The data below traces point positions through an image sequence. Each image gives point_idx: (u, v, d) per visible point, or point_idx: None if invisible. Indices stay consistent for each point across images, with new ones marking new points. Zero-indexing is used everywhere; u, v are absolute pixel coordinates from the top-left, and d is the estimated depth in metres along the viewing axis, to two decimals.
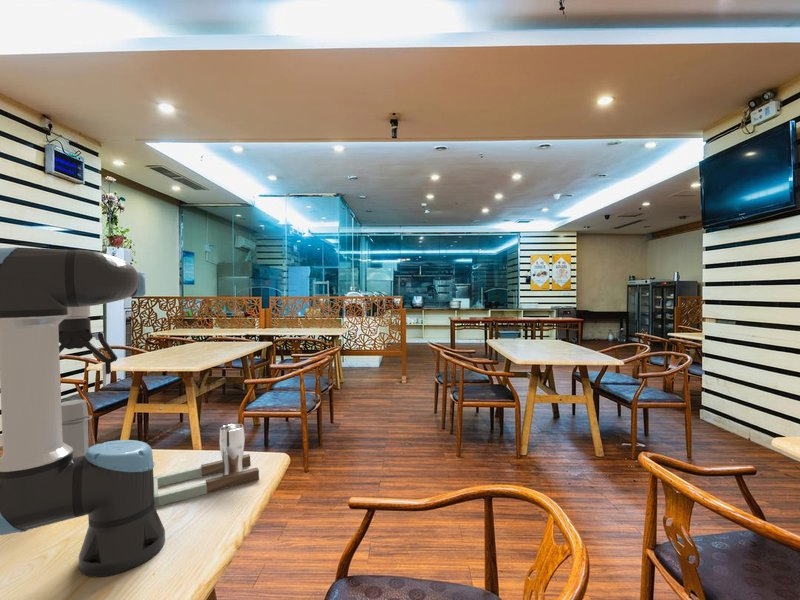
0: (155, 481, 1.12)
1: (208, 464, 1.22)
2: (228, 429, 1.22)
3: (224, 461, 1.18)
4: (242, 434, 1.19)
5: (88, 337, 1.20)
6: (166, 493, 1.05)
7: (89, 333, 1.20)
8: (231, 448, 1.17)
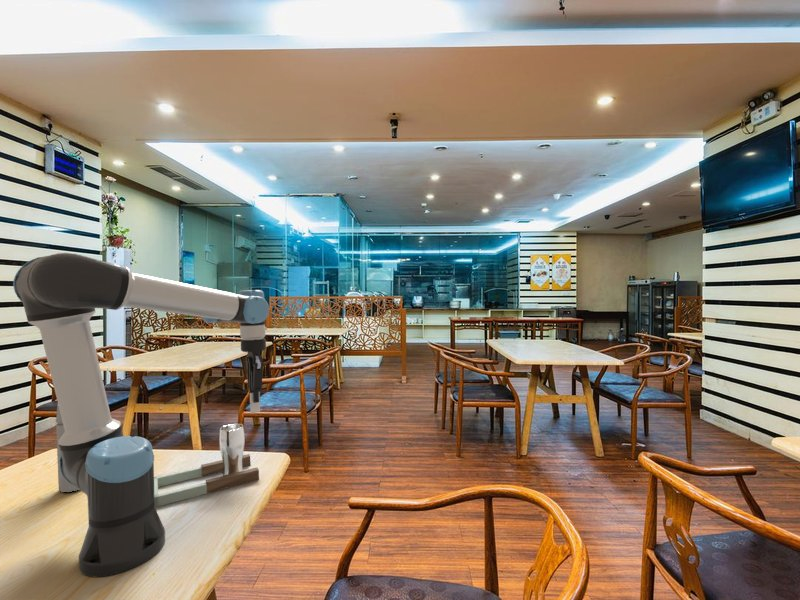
0: (155, 481, 1.12)
1: (208, 464, 1.22)
2: (228, 429, 1.22)
3: (224, 461, 1.18)
4: (242, 434, 1.19)
5: (252, 359, 1.23)
6: (166, 493, 1.05)
7: (253, 357, 1.22)
8: (231, 448, 1.17)
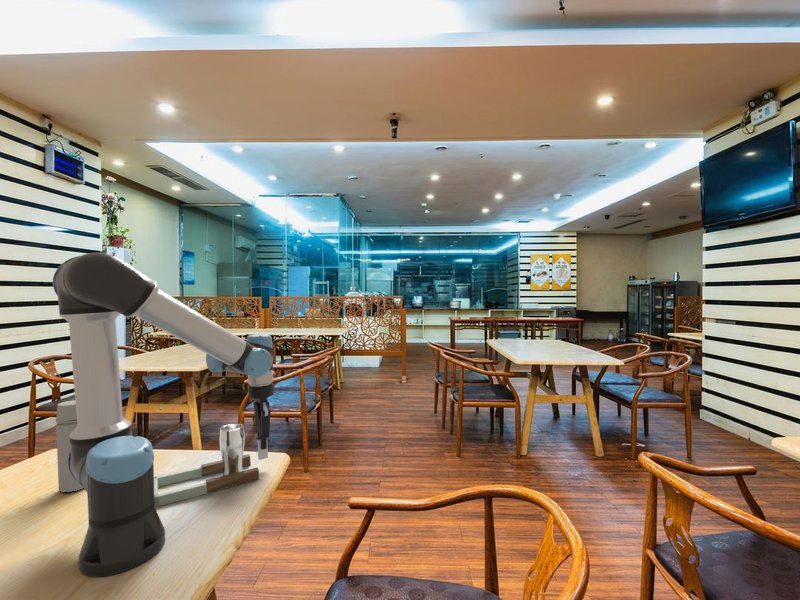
0: (155, 481, 1.12)
1: (208, 464, 1.22)
2: (228, 429, 1.22)
3: (224, 461, 1.18)
4: (242, 434, 1.19)
5: (260, 405, 1.21)
6: (166, 493, 1.05)
7: (261, 404, 1.21)
8: (231, 448, 1.17)
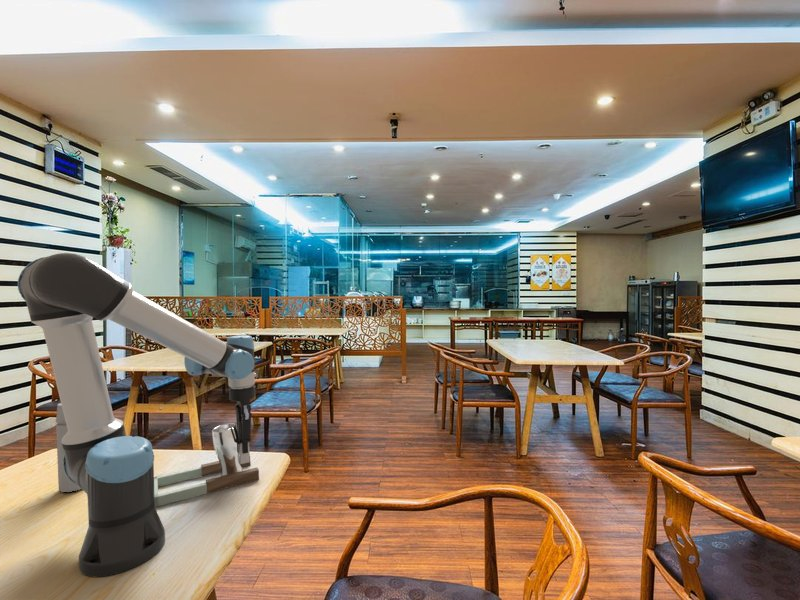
0: (155, 481, 1.12)
1: (208, 464, 1.22)
2: (221, 430, 1.21)
3: (221, 462, 1.17)
4: (235, 433, 1.18)
5: (240, 409, 1.18)
6: (166, 493, 1.05)
7: (241, 407, 1.18)
8: (225, 448, 1.16)
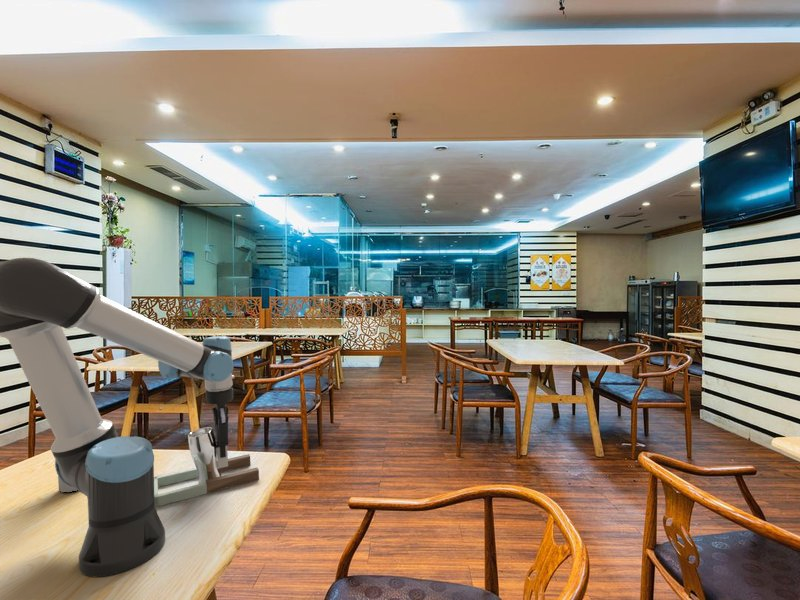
0: (155, 481, 1.12)
1: None
2: (198, 434, 1.18)
3: (197, 467, 1.14)
4: (212, 437, 1.15)
5: (217, 412, 1.15)
6: (166, 493, 1.05)
7: (218, 410, 1.14)
8: (202, 453, 1.13)
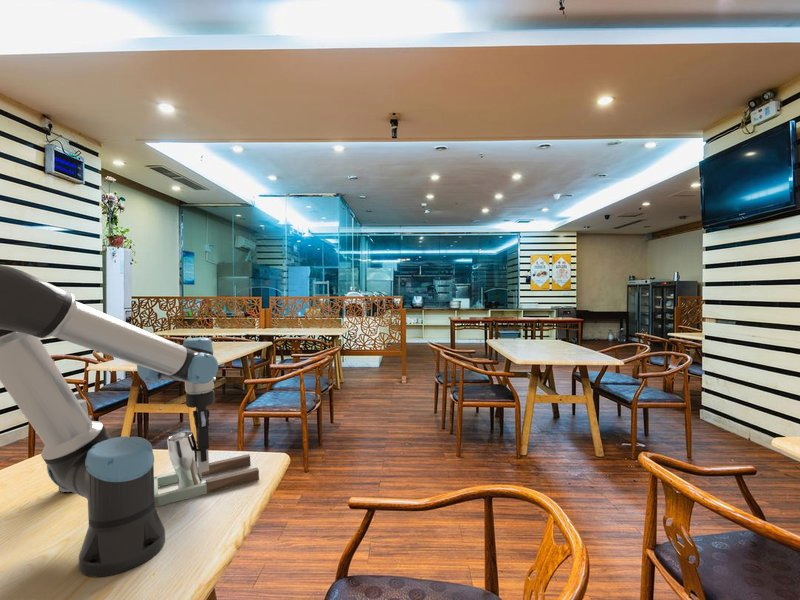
0: (155, 481, 1.12)
1: None
2: (177, 438, 1.15)
3: (177, 472, 1.11)
4: (193, 441, 1.12)
5: (197, 415, 1.12)
6: (166, 493, 1.05)
7: (198, 413, 1.11)
8: (182, 458, 1.10)
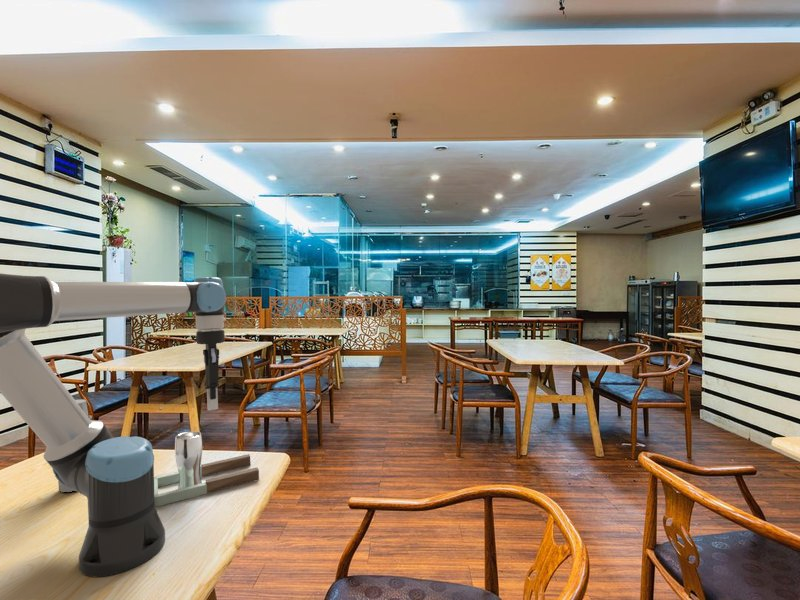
0: (155, 481, 1.12)
1: (208, 464, 1.22)
2: (184, 437, 1.16)
3: (180, 471, 1.11)
4: (200, 442, 1.14)
5: (208, 352, 1.14)
6: (166, 493, 1.05)
7: (208, 349, 1.13)
8: (188, 457, 1.11)
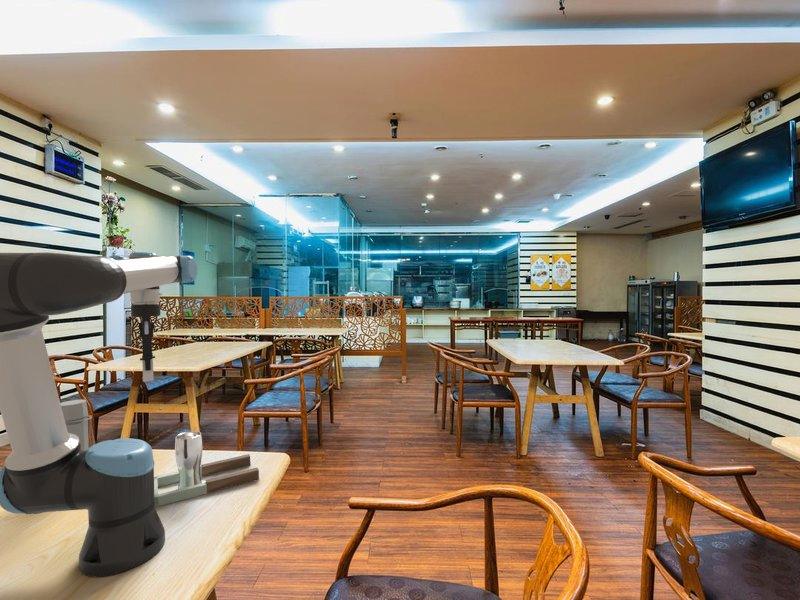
0: (155, 481, 1.12)
1: (208, 464, 1.22)
2: (184, 437, 1.16)
3: (180, 471, 1.11)
4: (200, 442, 1.14)
5: (142, 324, 1.18)
6: (166, 493, 1.05)
7: (142, 322, 1.17)
8: (188, 457, 1.11)
